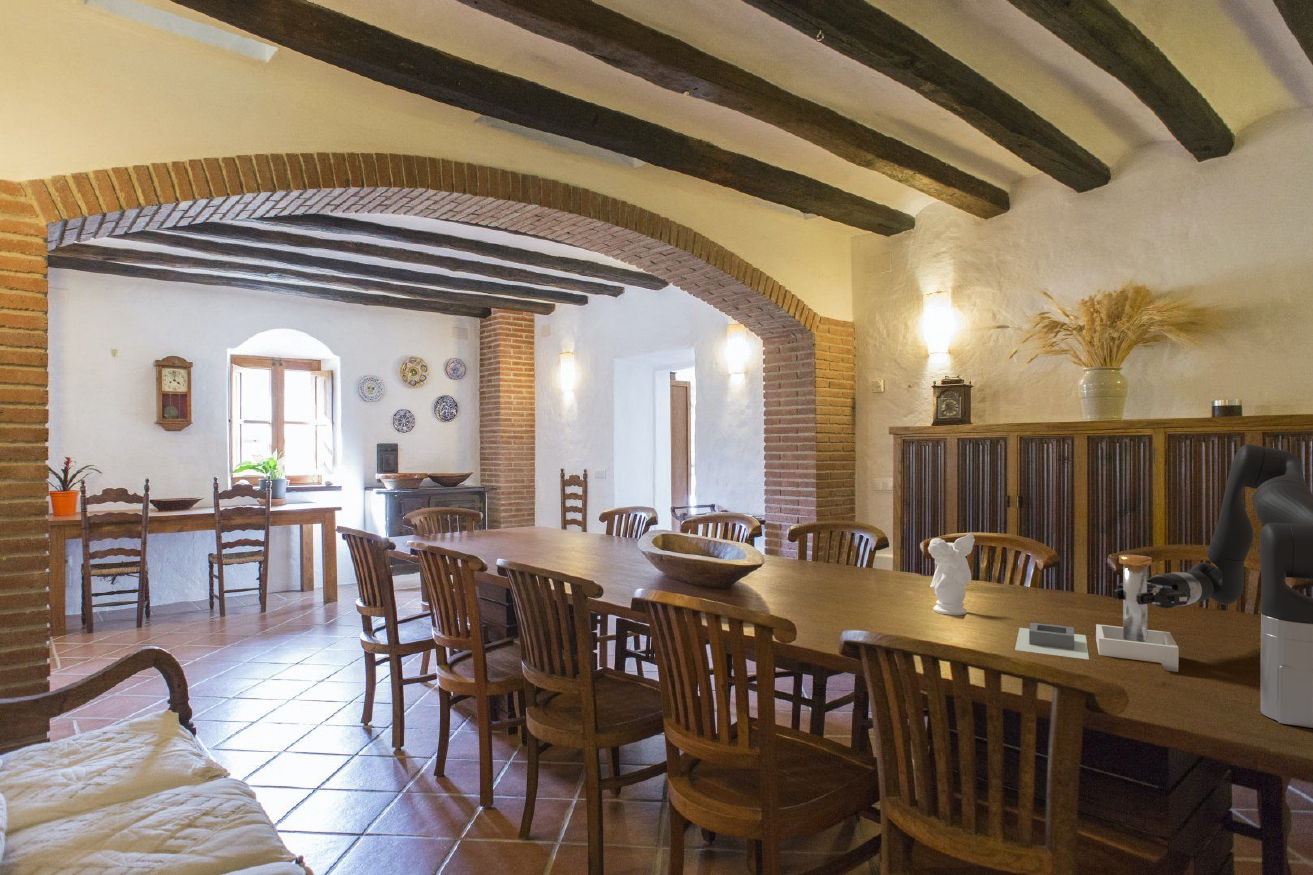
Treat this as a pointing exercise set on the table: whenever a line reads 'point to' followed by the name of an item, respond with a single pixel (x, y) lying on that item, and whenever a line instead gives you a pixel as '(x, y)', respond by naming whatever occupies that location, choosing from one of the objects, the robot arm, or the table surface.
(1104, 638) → the tray
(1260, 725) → the table surface
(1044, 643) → the hitch plate
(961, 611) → the cherub figurine
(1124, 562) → the steel pin
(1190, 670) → the table surface
